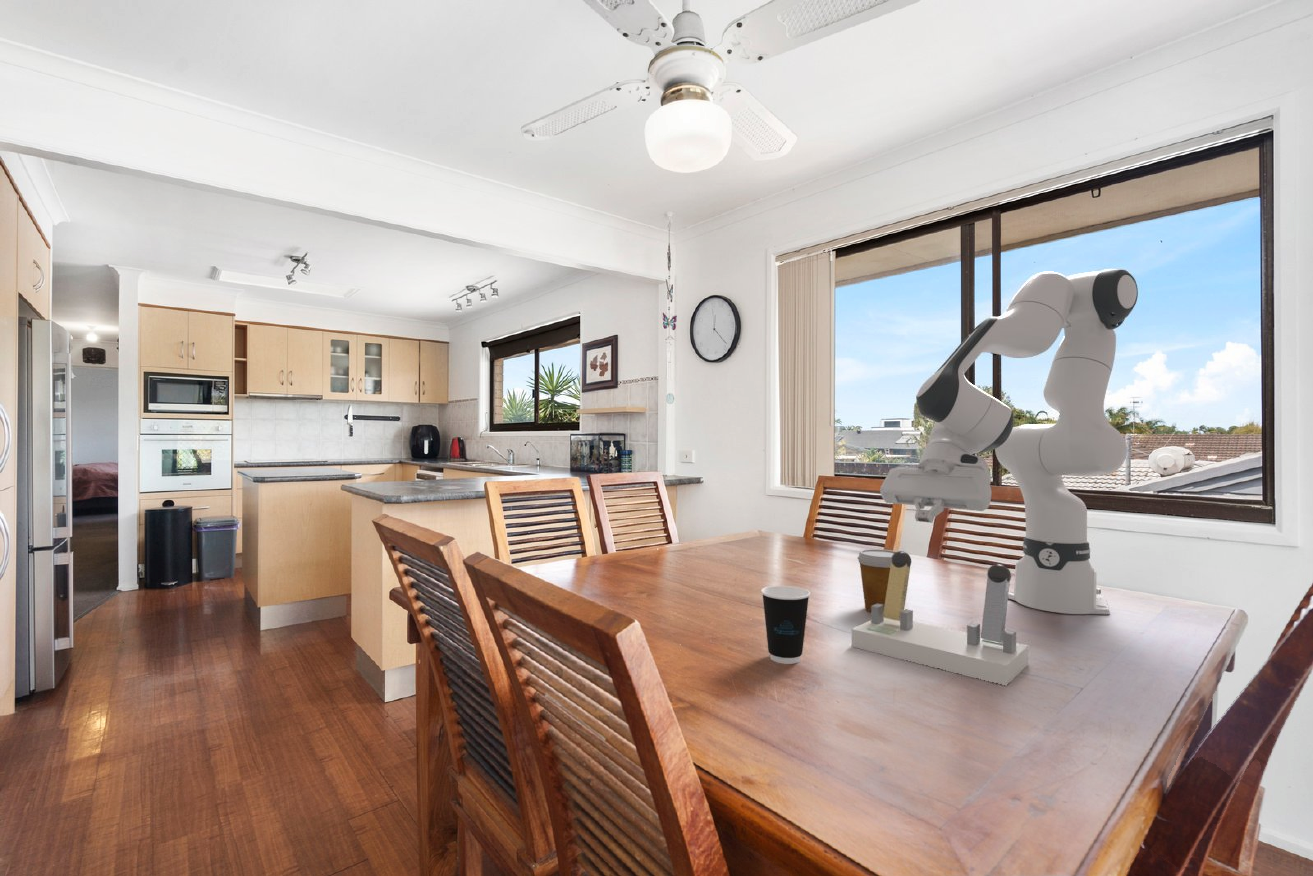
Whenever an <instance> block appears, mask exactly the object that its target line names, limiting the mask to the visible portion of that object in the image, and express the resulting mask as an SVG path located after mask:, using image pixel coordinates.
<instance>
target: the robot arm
mask: <svg viewBox="0 0 1313 876" xmlns="http://www.w3.org/2000/svg"><path fill="white" fill-rule="evenodd" d="M1138 289H1139V288H1138V284H1137V281H1136V279H1135V277H1134V276H1133V275H1132V274H1131V273H1130V272H1129V271H1127V270H1126V269H1120V268H1107V269H1105V268H1104V269H1103V270H1100V271H1091V272H1084V273H1077V274H1072V275H1069V276H1065V275H1064V274H1061V273H1058V272H1054V271H1041V272H1039V273H1036V274H1034V275H1032V276H1031V277H1030V278H1029V279H1027V280H1026V281H1025V283H1024V284H1023V285H1022V286H1021V287H1020V289H1019V290H1018V291H1017V293H1016V294H1015V295H1014V296H1013V298H1012V300H1011V301H1010V302H1009V304H1008V306H1007V308H1006V309H1005V311H1004V312H1003V314H1002V315H1000V316H989V317H988V318H985V320H983V321H982V322H980V323H979V324H978V325H977V326H975V327H974V329H972V331H971V332H970V333H969V334H968V335H967V336H966V337H965V338H964V339H963V341H961V343H959V345H958V346H957V347H956V349H955V350H954V351H953V352H952V353H951V354H950V355H949V357H947V359H946V360H945V362H944V363H943V364H942V365H941V366H940V367H939V368H938V369H937V371H936V372H934V373H933V374H932V375H931V376H930V377H928V379H926V380H925V382H923V384H922V385H921V387H919V389H918V392H917V394H916V395H915V396H916V405H917V408H918V411H919V414H920V415H921V416H923V417H925V418H927V419H929V420H931V421H933V422H935V423H934V425H933V427H932V429H931V432H930V434H929V439H928V441H929V442H928V443H927V445H926V446H925V447H924V449H923V452H922V454H921V457H920V460H919V463H918V464H917V465H904V464H903V465H897V466H895V467H893V468H890V469H889V471H888V473H887V475H886V477H885V479H884V480H883V482H882V484H881V486H880V487H879V493H880V496H881V498H882V500H883V502H885V503H886V504H896V505H897V504H898V505H904V506H905V505H906V506H907V505H908V506H914V507H915V510H916V512H915V514H914V519H915V521H916V522H920V523H921V522H923V523H931V524H932V523H934V520H935V517H937V516H938V515H940V514H941V513H942V512H944V510H945V509H954V510H966V511H979V512H983V511H986V510H987V509H988V508H989V507H990V504H991V500H992V488H991V482H992V477H991V472H990V468H989V467H988V463H987V462H986V460H985V458H984V457H982V456H977V455H980V454H983V453H986V452H990V451H993V450H994V451H995V456H996V458H997V461H998V462H999V464H1000V465H1001V466H1002V467H1004V468H1005V469H1006V470H1007V471H1008V472H1009V473H1010V474H1011V476H1012V477H1013V478H1014V479H1015V480H1014V481H1016V483H1017V485H1018V487H1019V489H1020V492H1021V494H1022V498H1023V502H1024V512H1025V513H1024V515H1025V516H1024V517H1025V537H1023V541H1022V548H1023V549H1022V550H1023V551H1022V552H1023V553H1022V554H1024V555H1023V557H1022V558H1020V559H1019V560H1017V561H1016V562H1015V569H1014V570H1015V571H1014V588H1013V590H1012V591H1009V594H1008V600H1013V601H1016V602H1017V603H1019V604H1020V605H1023V606H1025V607H1028V608H1031V609H1035V610H1041V611H1046V612H1052V613H1059V614H1070V615H1093V614H1094V615H1110V608H1109V603H1108V601H1107V597H1106V595H1104V594H1101V593H1102V592H1101V591H1102V590H1101V588H1099V587H1097V571H1095V569H1094V568H1093V566H1092V565H1091V563H1090V560H1089V559H1091V548H1090V543H1089V542H1088V509H1087V506H1086V504H1085V502H1084V501H1083V500H1082V499H1081V498H1080V497H1078V495H1077V496H1076V494H1074V493H1072V492H1070V490H1069V489H1068V488H1067V487H1066V485H1065V484H1064V481H1063V477H1062V476H1071V477H1085V478H1088V477H1096V476H1103V475H1113V474H1114V473H1115V472H1118V470H1120V468H1121V467H1122V466H1123V464H1124V462H1125V460H1126V459H1127V454H1128V453H1127V452H1128V447H1127V442H1126V440H1125V438H1124V436H1123V435H1122V433H1121V432H1120V431H1119V430H1117V429H1116V428H1115V427H1114V426H1113V425H1111V424H1110V422H1109V420H1108V419H1107V417H1106V414H1105V413H1106V412H1105V409H1104V407H1105V399H1106V394H1107V389H1108V385H1109V382H1110V377H1111V374H1112V370H1113V367H1114V363H1115V357H1116V349H1117V334H1116V331H1115V329H1117V328H1119V327H1120V326H1121V325H1122V324H1123V323H1124V322H1125V319H1126V318H1127V317H1129V315H1130V314H1131V313H1132V311H1133V310H1134V308H1135V306H1136V304H1137V302H1138V297H1139V296H1138V295H1139V293H1138V292H1139V290H1138ZM1062 329H1063V331H1064V335H1063V338H1062V340H1061V341H1060V342H1059V343H1060V344H1059V346H1058V348H1057V349H1056V352H1055V355H1054V357H1053V361H1052V364H1051V366H1050V370H1049V373H1048V375H1047V379H1046V382H1045V386H1044V388H1043V397H1044V400H1045V402H1046V404H1047V405H1048V406H1049V407H1051V408H1052V409H1053V410H1055V411H1057V412H1058V413H1059V417H1058V420H1057V422H1056V423H1043V424H1042V423H1038V424H1035V423H1033V424H1032V423H1031V424H1030V423H1029V424H1022V425H1018V426H1014V423H1015V417H1014V415H1015V414H1014V411H1013V408H1011V407H1009V406H1008V405H1007V404H1005V403H1004V402H1002V401H1000V400H999V399H998V398H995V397H994V396H993V395H991V394H989V393H987V392H986V391H984V390H982V389H980V388H979V387H977V386H976V385H974V384H972V383H971V382H970V381H969V380H968V379H967V378H966V376H965V373H966V372H967V371H968V369H969V368H970V367H971V366H972V365H973V364H974V362H976V360H977V359H978V357H979V356H980V355H981V354H982V353H989V354H996V355H1000V356H1004V357H1008V358H1013V359H1024V358H1025V359H1026V358H1033V357H1037V356H1040V355H1041V354H1043V353H1045V352H1047V351H1048V350H1049V349H1050V348H1051V347H1052V346H1053V345H1054V344H1055V342H1056V341H1057V339H1058V337H1059V335H1060V333H1061V331H1062ZM974 454H975V455H974ZM925 507H931V508H930V509H927V510H926V509H925Z"/></svg>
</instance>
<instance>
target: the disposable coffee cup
mask: <svg viewBox="0 0 1313 876" xmlns="http://www.w3.org/2000/svg"><path fill="white" fill-rule="evenodd" d="M896 552H898V551H896V550H891V549H880V548H879V549H875V548H873V549H872V548H871V549H861V550H859V553H858V556H857V560H858V563H859V568H860V577H861V582H862V585H861V586H862V592H863V600H864V608H865V611H867V612H869V613H871V606H873V605H875V604H882V605H884V606H885V599H886V593H887V586H888V580H889V573H890V566H891V558H892V556H893V554H894V553H896Z"/></svg>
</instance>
